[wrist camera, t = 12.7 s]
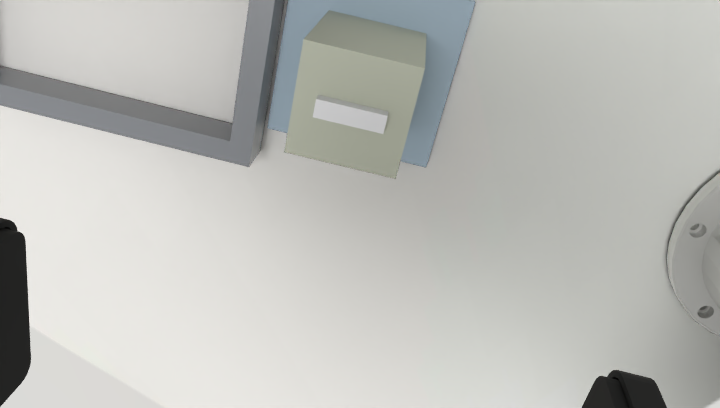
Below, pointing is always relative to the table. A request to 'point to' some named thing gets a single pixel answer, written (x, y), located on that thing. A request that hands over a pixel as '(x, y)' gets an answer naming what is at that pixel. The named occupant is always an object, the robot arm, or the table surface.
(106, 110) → the case
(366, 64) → the block
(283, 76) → the pad
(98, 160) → the table surface
